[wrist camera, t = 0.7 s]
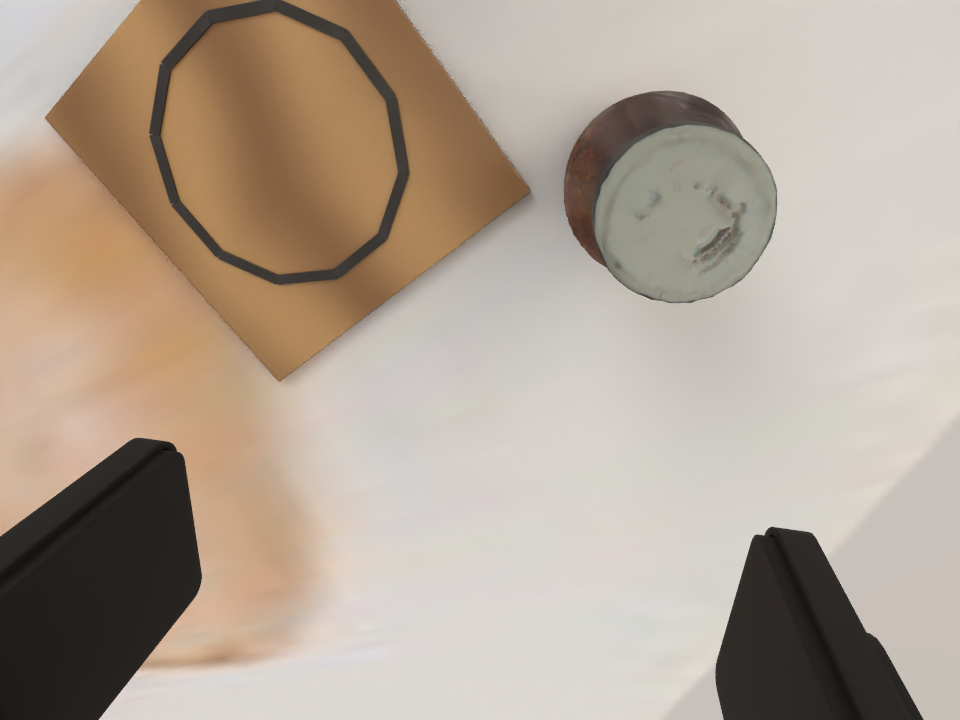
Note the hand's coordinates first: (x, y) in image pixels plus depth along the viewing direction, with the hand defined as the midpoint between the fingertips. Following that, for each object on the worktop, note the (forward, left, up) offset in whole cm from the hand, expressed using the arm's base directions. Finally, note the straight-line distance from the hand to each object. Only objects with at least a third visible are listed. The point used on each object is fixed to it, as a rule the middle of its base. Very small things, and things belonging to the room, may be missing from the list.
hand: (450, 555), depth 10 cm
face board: (+9, -13, -26) cm, 31 cm away
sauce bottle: (-6, -1, -26) cm, 27 cm away
